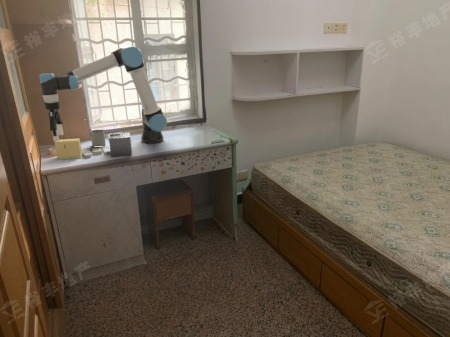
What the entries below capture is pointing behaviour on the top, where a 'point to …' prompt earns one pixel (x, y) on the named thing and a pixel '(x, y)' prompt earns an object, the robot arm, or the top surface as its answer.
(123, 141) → the dispenser
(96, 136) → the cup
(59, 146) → the yellow rectangular block
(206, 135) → the top surface
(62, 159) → the pad
